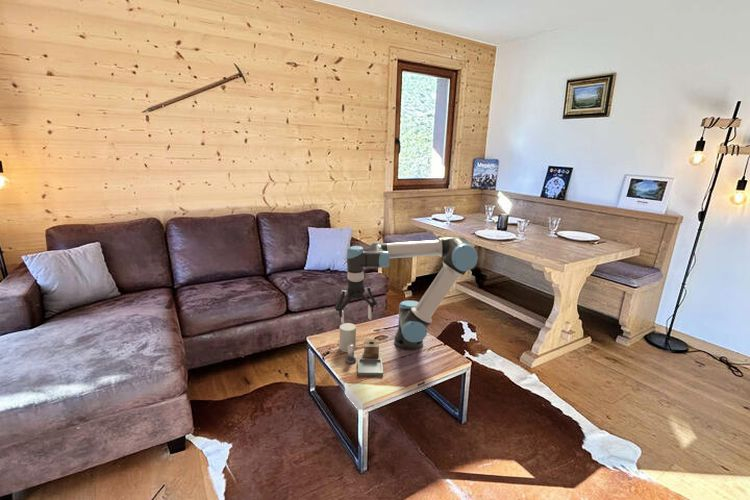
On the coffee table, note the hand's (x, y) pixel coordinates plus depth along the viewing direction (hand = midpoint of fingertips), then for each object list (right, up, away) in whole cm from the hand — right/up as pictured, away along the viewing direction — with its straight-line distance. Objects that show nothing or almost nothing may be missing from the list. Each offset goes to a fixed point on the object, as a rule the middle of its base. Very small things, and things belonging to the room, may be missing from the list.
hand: (356, 320), depth 181 cm
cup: (-5, -16, +12) cm, 21 cm away
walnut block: (+7, -18, +6) cm, 20 cm away
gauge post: (-3, -20, 0) cm, 20 cm away
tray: (+7, -21, -5) cm, 23 cm away
